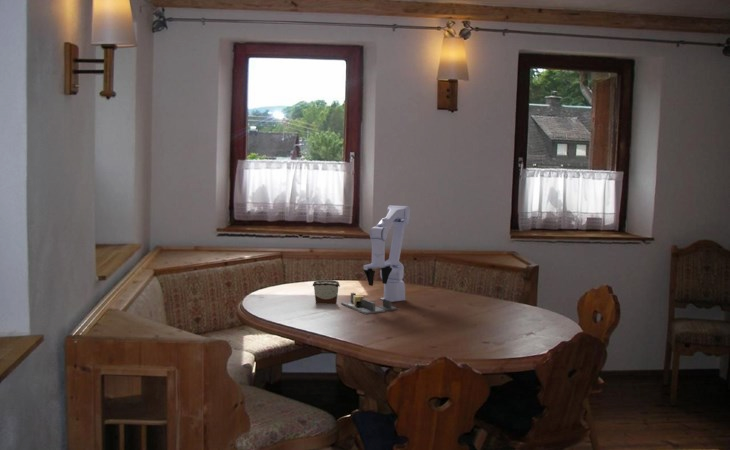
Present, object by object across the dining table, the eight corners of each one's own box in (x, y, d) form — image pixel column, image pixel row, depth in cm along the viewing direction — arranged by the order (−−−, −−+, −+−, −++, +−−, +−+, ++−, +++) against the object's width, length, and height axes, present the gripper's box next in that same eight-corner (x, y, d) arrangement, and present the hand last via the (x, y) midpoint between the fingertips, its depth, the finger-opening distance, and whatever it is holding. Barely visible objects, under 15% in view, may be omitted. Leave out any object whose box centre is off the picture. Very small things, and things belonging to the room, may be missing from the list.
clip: (353, 302, 346) (353, 295, 345) (361, 302, 347) (361, 294, 346) (354, 304, 342) (354, 297, 342) (363, 304, 343) (363, 296, 342)
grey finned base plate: (388, 306, 345) (388, 297, 344) (397, 309, 339) (397, 300, 338) (377, 307, 341) (377, 299, 341) (385, 311, 335) (385, 302, 335)
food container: (341, 301, 353) (341, 280, 352) (339, 304, 347) (339, 282, 346) (314, 300, 354) (314, 279, 353) (312, 303, 348) (312, 281, 347)
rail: (360, 302, 353) (360, 291, 352) (385, 311, 335) (385, 300, 334) (341, 304, 347) (341, 293, 347) (365, 314, 330) (365, 302, 329)
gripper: (385, 251, 347) (385, 281, 348) (359, 254, 338) (359, 284, 340) (395, 253, 341) (394, 283, 343) (369, 256, 332) (368, 287, 334)
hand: (377, 284), depth 341 cm, fingers open, 7 cm apart
